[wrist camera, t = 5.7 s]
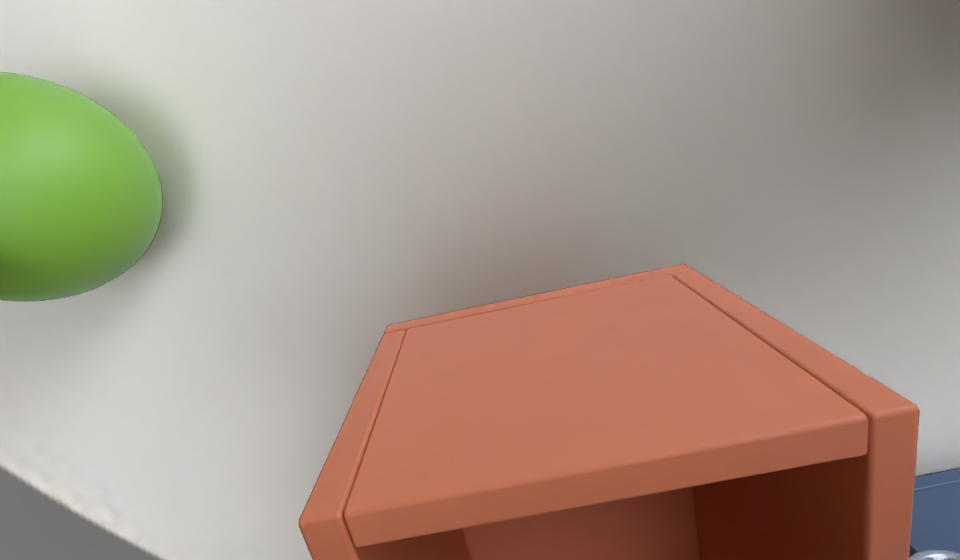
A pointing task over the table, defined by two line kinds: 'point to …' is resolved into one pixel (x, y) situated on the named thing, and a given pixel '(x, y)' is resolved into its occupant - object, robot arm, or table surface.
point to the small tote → (615, 436)
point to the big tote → (936, 512)
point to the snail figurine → (69, 192)
